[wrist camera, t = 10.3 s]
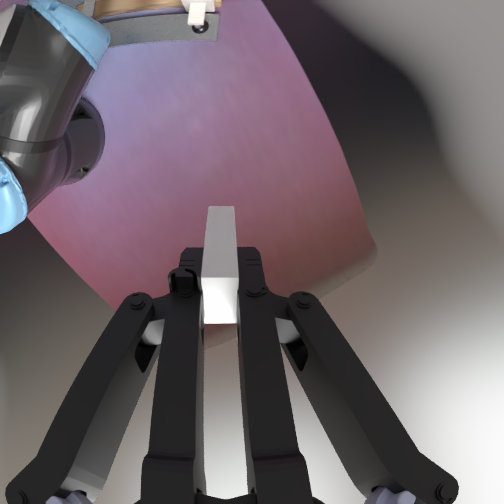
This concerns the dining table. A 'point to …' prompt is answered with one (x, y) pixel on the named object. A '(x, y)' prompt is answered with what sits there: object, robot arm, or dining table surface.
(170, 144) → the dining table surface
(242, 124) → the dining table surface
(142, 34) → the hole plate
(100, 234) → the dining table surface
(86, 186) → the dining table surface
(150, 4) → the beam
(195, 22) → the block
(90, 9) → the fixed leg
